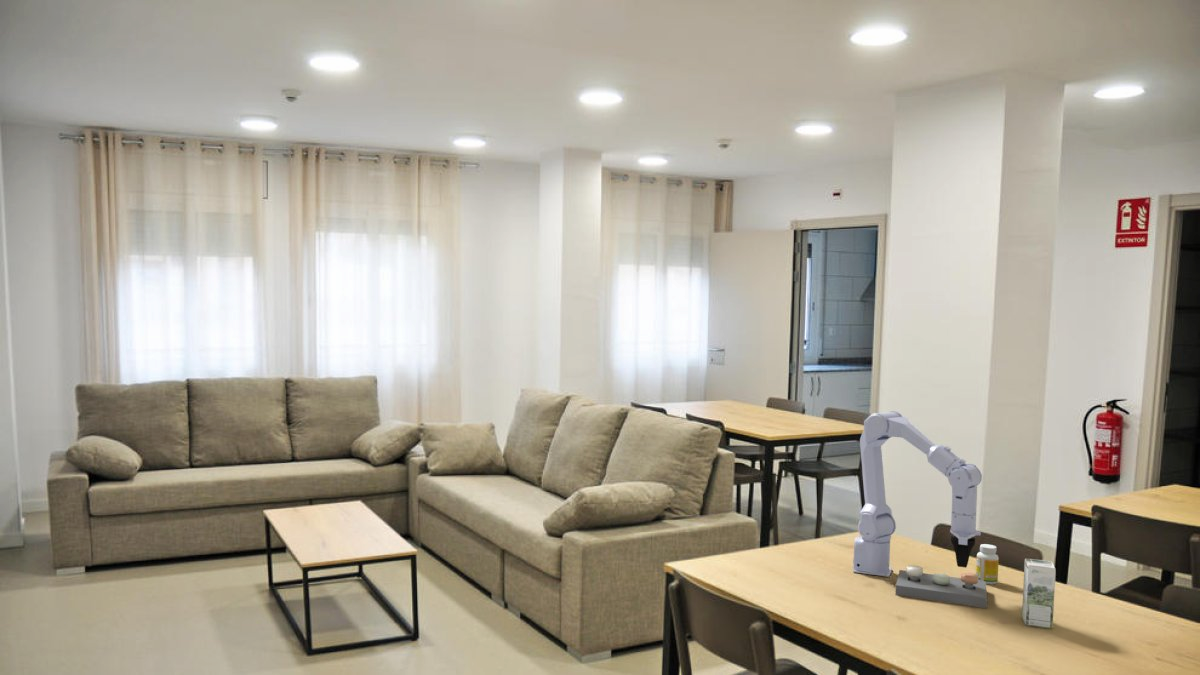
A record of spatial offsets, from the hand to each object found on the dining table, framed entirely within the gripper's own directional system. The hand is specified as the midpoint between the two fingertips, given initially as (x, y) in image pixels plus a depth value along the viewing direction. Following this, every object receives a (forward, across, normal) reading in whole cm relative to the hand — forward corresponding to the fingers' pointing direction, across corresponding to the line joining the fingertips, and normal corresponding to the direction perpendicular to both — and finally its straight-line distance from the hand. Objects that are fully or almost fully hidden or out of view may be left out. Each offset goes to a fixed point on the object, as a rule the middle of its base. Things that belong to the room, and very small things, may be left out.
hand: (962, 566), depth 215 cm
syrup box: (+8, -13, -16) cm, 22 cm away
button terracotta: (+6, 0, -2) cm, 6 cm away
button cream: (+6, 0, +11) cm, 12 cm away
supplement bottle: (+8, +16, -6) cm, 19 cm away
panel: (+8, 0, +5) cm, 9 cm away
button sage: (+7, 0, +5) cm, 8 cm away
